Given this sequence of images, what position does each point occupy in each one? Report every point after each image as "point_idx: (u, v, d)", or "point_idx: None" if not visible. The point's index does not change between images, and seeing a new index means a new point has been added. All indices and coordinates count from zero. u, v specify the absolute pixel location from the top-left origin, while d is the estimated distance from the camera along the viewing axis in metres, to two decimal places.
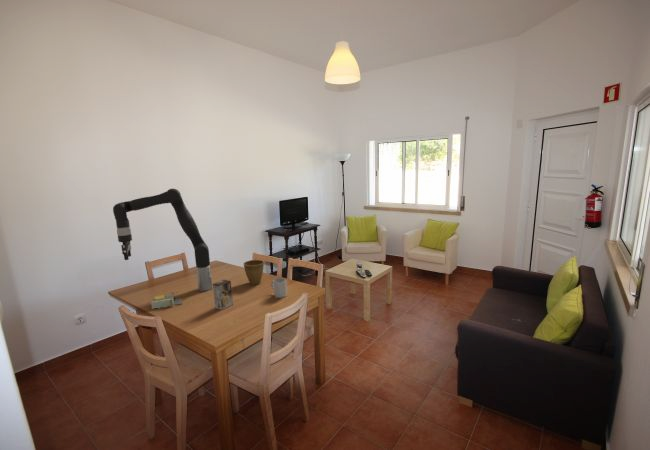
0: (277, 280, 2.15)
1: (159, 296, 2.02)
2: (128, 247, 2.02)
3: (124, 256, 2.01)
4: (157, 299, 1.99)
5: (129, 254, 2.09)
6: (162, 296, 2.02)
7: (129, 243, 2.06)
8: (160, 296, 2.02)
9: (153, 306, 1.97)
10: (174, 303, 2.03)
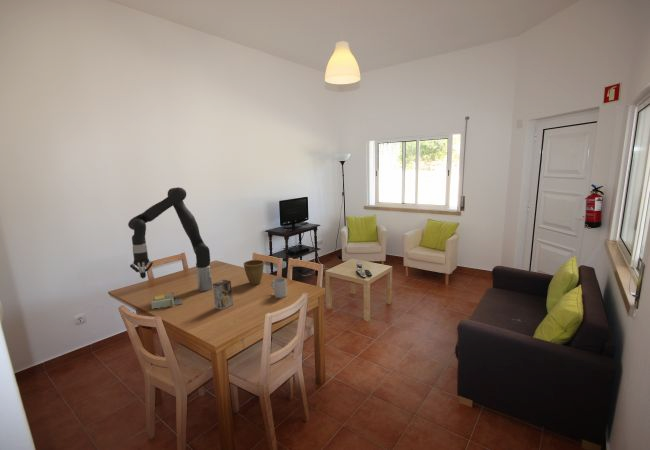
0: (277, 280, 2.15)
1: (159, 296, 2.02)
2: None
3: (144, 274, 1.95)
4: (157, 299, 1.99)
5: None
6: (162, 296, 2.02)
7: None
8: (160, 296, 2.02)
9: (153, 306, 1.97)
10: (174, 303, 2.03)
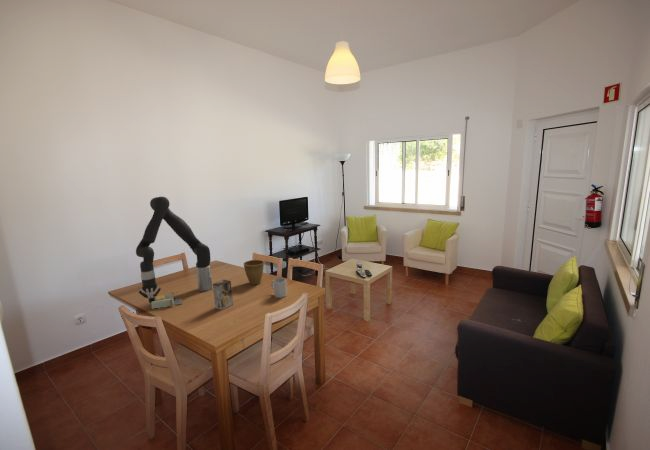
0: (277, 280, 2.15)
1: (159, 296, 2.02)
2: None
3: (152, 299, 2.00)
4: (157, 299, 1.99)
5: None
6: (162, 296, 2.02)
7: None
8: (160, 296, 2.02)
9: (153, 306, 1.97)
10: (174, 303, 2.03)
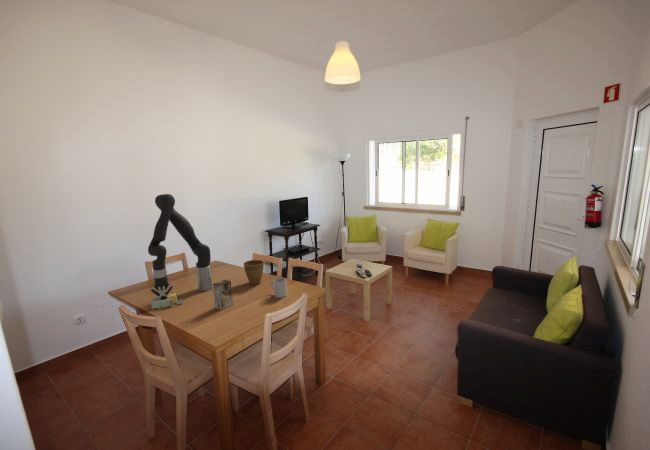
0: (277, 280, 2.15)
1: (171, 294, 2.04)
2: None
3: (164, 297, 2.02)
4: (169, 297, 2.01)
5: None
6: (174, 294, 2.04)
7: None
8: (172, 294, 2.04)
9: (153, 306, 1.97)
10: (174, 303, 2.03)
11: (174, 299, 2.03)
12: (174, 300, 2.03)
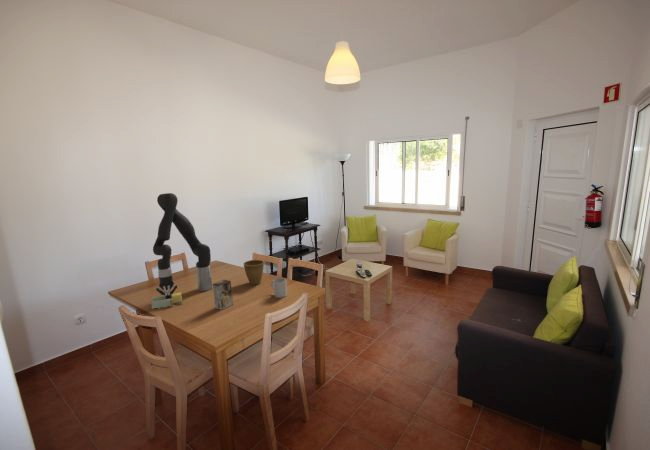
0: (277, 280, 2.15)
1: (176, 293, 2.05)
2: None
3: (169, 297, 2.03)
4: (174, 296, 2.02)
5: None
6: (179, 293, 2.05)
7: None
8: (177, 293, 2.05)
9: (153, 306, 1.97)
10: (174, 303, 2.03)
11: (179, 298, 2.04)
12: (179, 300, 2.04)
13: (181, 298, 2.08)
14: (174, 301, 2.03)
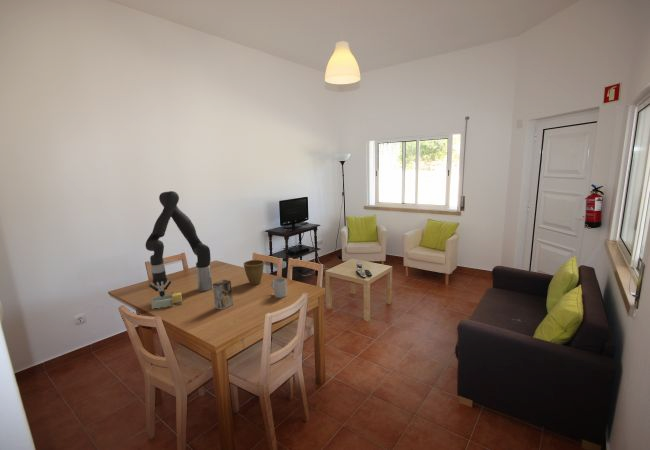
0: (277, 280, 2.15)
1: (176, 293, 2.05)
2: None
3: (163, 292, 2.01)
4: (174, 296, 2.03)
5: None
6: (179, 293, 2.05)
7: None
8: (177, 293, 2.05)
9: (153, 306, 1.97)
10: (174, 303, 2.03)
11: (179, 298, 2.04)
12: (179, 300, 2.04)
13: (181, 298, 2.08)
14: (175, 301, 2.03)
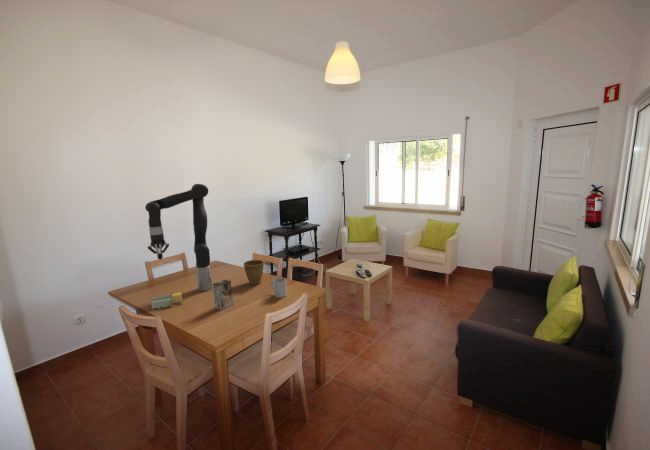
0: (277, 280, 2.15)
1: (176, 293, 2.05)
2: None
3: (161, 255, 2.04)
4: (174, 296, 2.03)
5: None
6: (179, 293, 2.05)
7: None
8: (177, 293, 2.05)
9: (153, 306, 1.97)
10: (174, 303, 2.03)
11: (179, 298, 2.04)
12: (179, 300, 2.04)
13: (181, 298, 2.08)
14: (175, 301, 2.03)
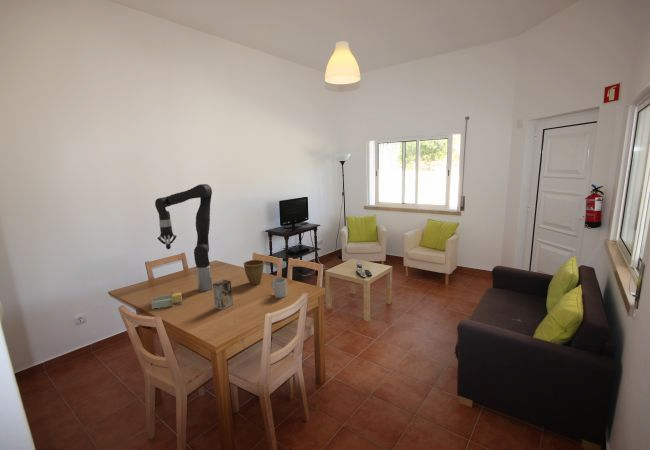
0: (277, 280, 2.15)
1: (176, 293, 2.05)
2: None
3: (169, 246, 2.26)
4: (174, 296, 2.03)
5: None
6: (179, 293, 2.05)
7: None
8: (177, 293, 2.05)
9: (153, 306, 1.97)
10: (174, 303, 2.03)
11: (179, 298, 2.04)
12: (179, 300, 2.04)
13: (181, 298, 2.08)
14: (175, 301, 2.03)
